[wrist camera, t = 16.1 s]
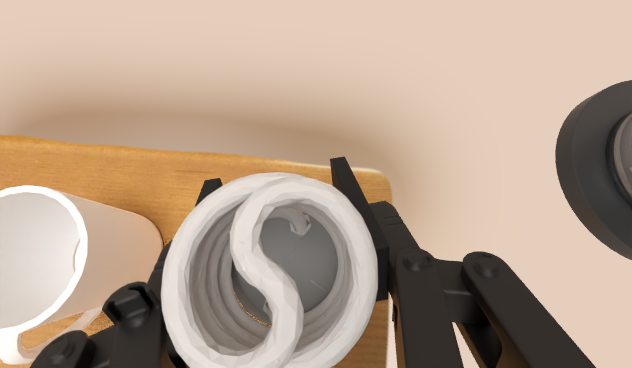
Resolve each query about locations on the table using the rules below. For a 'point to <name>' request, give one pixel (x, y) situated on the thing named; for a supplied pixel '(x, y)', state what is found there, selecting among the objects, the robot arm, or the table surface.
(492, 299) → the robot arm
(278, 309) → the light bulb
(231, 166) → the table surface
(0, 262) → the mug
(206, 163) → the table surface
